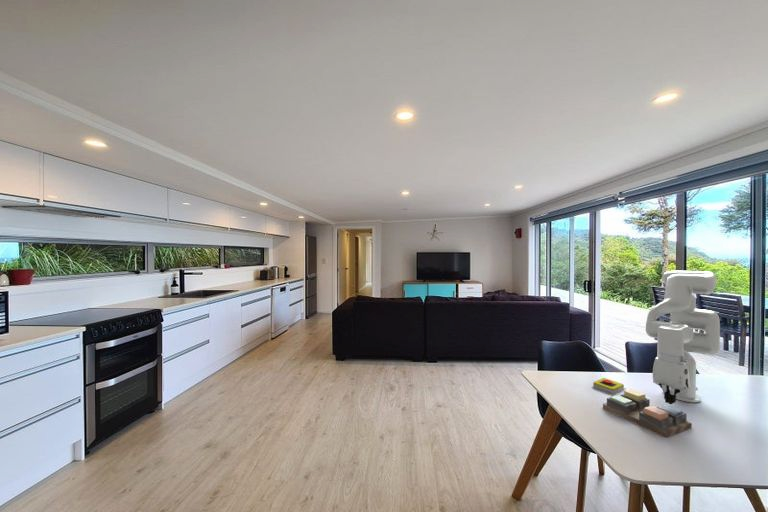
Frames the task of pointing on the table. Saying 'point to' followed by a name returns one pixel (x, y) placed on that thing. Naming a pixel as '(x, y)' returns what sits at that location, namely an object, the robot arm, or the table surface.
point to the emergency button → (608, 386)
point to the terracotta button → (656, 413)
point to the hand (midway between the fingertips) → (669, 402)
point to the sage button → (621, 400)
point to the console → (648, 417)
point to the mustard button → (634, 395)
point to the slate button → (670, 410)
